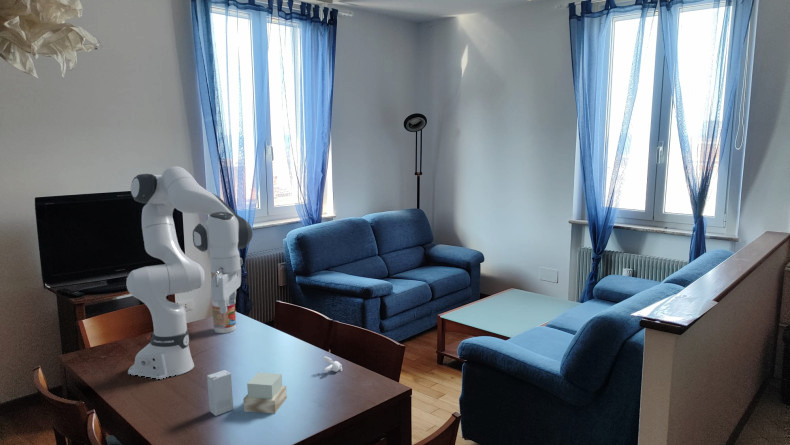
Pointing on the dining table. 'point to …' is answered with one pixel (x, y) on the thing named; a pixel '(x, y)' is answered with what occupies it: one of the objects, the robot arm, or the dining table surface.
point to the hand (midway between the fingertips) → (228, 308)
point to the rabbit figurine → (334, 365)
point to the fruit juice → (224, 318)
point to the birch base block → (265, 403)
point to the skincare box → (220, 392)
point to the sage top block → (264, 385)
